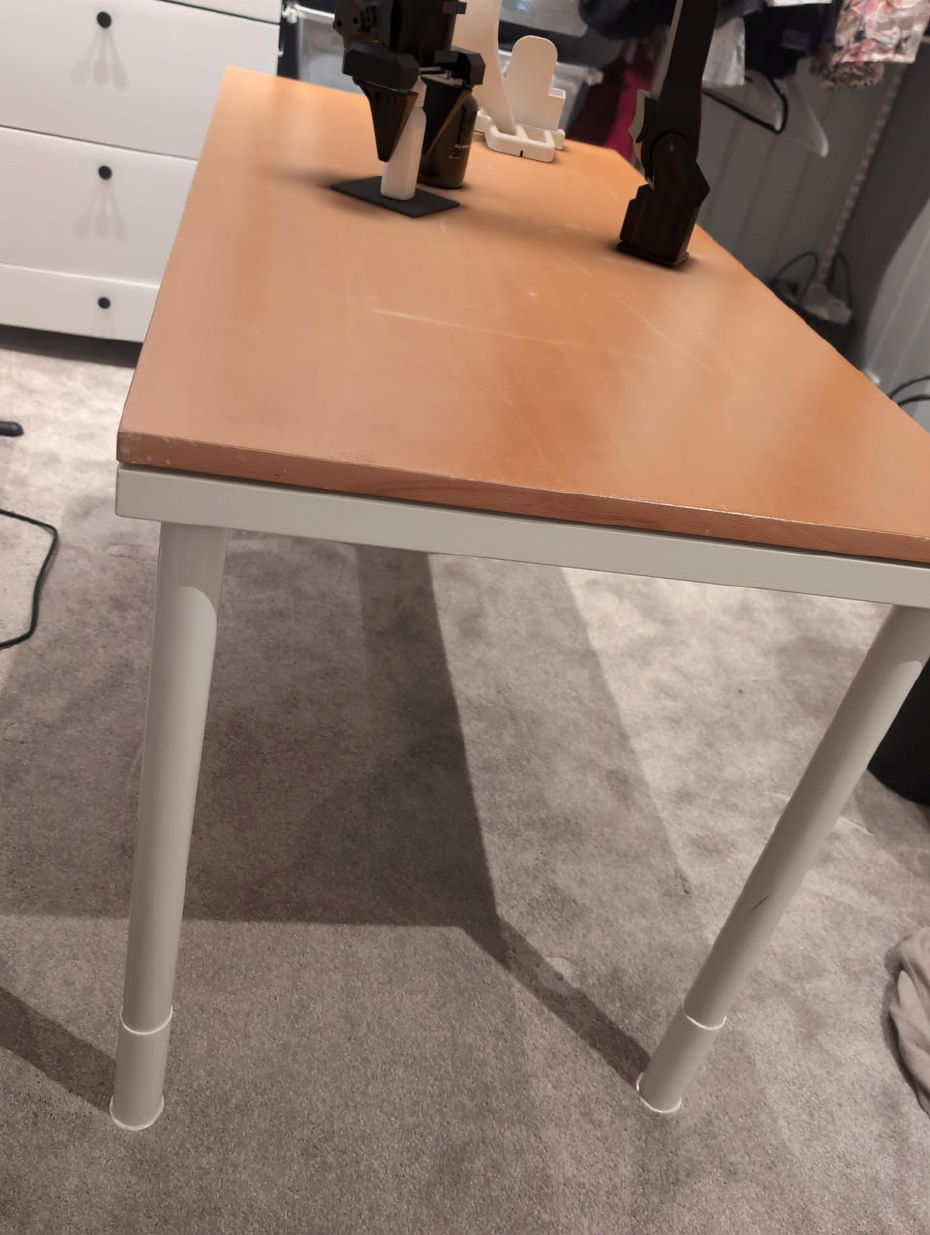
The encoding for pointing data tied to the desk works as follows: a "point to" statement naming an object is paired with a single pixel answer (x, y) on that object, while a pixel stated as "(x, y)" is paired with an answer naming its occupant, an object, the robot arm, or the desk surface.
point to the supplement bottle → (451, 148)
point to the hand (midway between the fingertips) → (403, 157)
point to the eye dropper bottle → (406, 153)
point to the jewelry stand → (513, 86)
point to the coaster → (411, 207)
